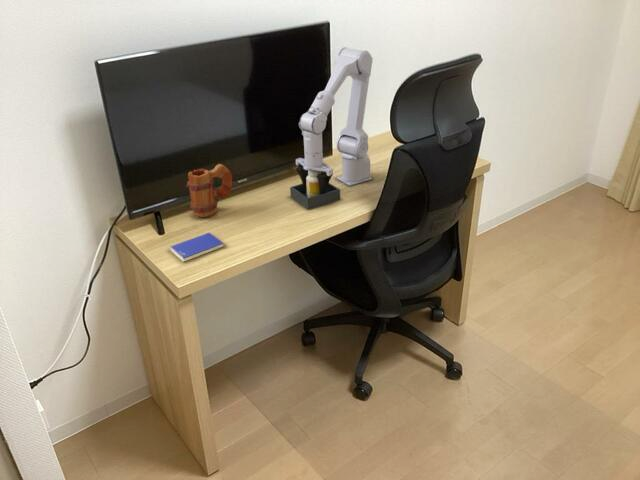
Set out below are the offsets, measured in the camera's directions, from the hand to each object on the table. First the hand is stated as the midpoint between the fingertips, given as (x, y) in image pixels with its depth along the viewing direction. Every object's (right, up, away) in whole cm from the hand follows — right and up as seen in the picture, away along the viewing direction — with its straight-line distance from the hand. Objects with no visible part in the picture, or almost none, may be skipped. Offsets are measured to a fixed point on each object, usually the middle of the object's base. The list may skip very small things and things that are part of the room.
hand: (314, 190), depth 188 cm
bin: (0, -3, +1) cm, 3 cm away
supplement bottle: (0, -2, +1) cm, 3 cm away
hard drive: (-33, -19, -24) cm, 45 cm away
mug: (-32, -7, -5) cm, 34 cm away
